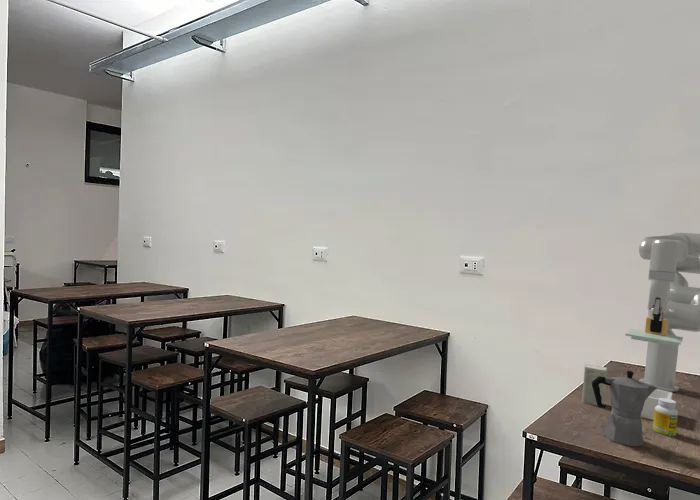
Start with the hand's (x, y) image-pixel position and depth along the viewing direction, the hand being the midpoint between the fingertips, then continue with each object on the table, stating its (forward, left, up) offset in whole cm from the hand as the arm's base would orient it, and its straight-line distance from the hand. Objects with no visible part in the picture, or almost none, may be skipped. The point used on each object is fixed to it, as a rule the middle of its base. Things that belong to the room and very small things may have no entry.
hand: (656, 331), depth 167 cm
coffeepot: (+48, -2, -23) cm, 53 cm away
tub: (+20, 0, -23) cm, 31 cm away
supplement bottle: (+35, +7, -23) cm, 43 cm away
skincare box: (+24, -13, -23) cm, 36 cm away
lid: (+5, 0, -2) cm, 5 cm away
